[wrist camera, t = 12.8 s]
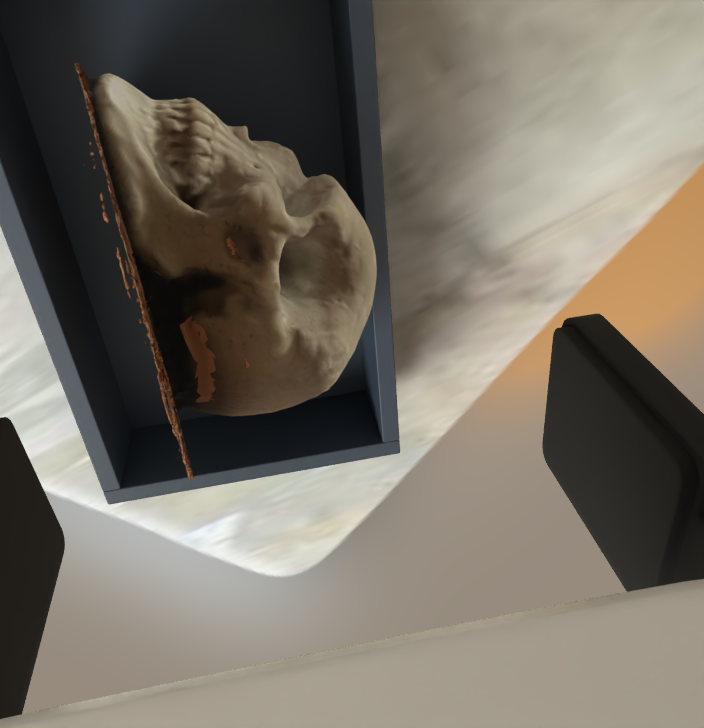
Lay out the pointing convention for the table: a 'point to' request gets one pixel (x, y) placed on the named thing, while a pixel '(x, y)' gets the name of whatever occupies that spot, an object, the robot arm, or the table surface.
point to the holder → (99, 239)
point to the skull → (230, 255)
